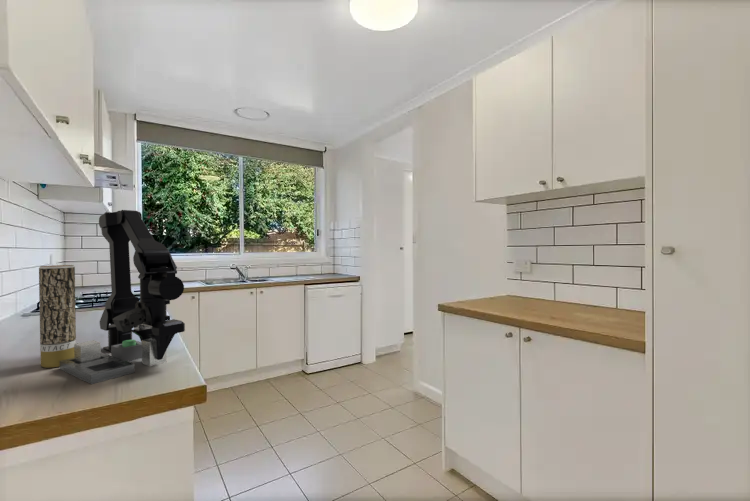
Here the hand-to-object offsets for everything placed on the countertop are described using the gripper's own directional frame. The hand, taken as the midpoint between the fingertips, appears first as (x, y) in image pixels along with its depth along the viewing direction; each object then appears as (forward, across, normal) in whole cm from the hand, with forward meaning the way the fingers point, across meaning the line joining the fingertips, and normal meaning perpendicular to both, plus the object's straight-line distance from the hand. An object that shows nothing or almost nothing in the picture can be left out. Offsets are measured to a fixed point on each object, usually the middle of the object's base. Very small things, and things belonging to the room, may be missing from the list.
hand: (154, 357), depth 92 cm
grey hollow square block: (+1, -10, -2) cm, 10 cm away
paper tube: (+1, -20, -14) cm, 24 cm away
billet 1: (+1, -10, -10) cm, 15 cm away
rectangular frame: (+1, -6, -10) cm, 12 cm away
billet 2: (+1, 0, 0) cm, 1 cm away
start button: (-1, -10, -1) cm, 10 cm away
